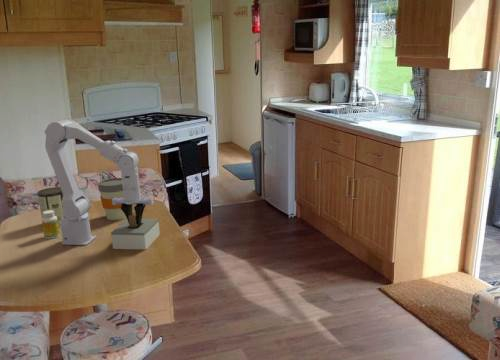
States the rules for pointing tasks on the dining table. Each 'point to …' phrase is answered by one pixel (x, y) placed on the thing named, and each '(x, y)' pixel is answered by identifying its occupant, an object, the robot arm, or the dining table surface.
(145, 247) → the box
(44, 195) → the coffee can
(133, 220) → the tan rectangular block
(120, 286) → the dining table surface
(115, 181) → the reusable coffee cup
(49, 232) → the supplement bottle
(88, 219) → the robot arm
